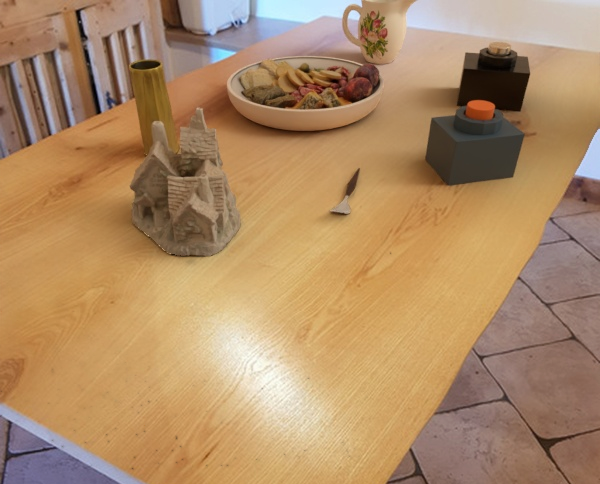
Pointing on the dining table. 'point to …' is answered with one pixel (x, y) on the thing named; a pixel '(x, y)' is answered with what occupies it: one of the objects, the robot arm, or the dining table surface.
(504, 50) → the power button
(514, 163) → the button housing
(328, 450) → the dining table surface
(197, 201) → the ceramic cottage
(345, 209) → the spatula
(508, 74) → the base unit
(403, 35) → the pitcher
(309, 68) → the bowl
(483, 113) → the orange push button
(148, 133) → the vase
